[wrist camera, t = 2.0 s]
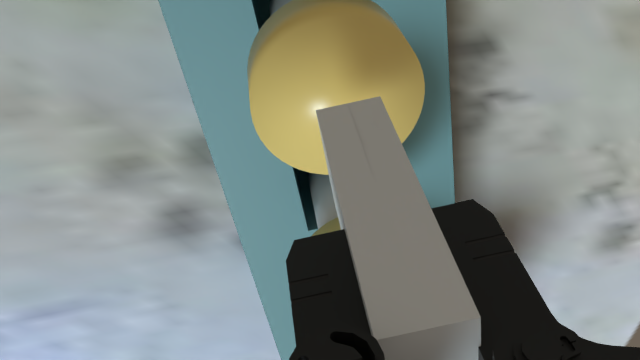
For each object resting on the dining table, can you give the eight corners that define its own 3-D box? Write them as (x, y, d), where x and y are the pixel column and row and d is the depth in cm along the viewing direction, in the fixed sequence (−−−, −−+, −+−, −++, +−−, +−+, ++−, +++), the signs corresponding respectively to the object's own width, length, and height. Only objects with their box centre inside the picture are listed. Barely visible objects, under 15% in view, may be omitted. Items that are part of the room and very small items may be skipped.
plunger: (258, 78, 24) (271, 190, 18) (227, -44, 21) (229, 39, 15) (376, 52, 24) (429, 155, 18) (361, -73, 21) (418, -3, 15)
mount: (281, 307, 39) (290, 386, 34) (143, -132, 23) (123, -102, 18) (431, 273, 39) (461, 347, 34) (393, -186, 23) (438, -170, 18)
